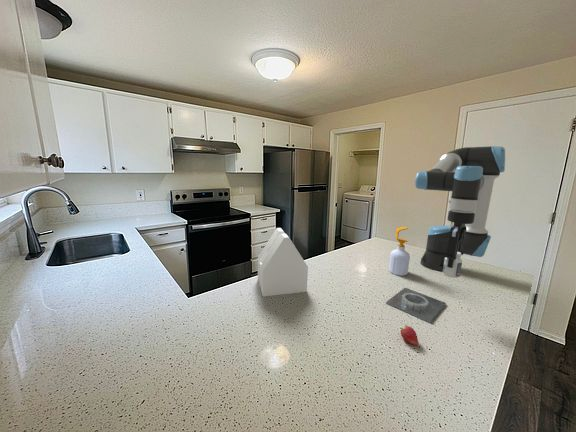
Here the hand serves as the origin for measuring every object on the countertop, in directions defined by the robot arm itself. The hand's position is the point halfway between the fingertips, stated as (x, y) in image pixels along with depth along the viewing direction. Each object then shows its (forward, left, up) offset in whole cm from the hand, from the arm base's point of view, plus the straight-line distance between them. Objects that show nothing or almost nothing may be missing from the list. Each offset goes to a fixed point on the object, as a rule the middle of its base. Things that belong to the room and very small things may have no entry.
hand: (451, 272), depth 87 cm
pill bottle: (0, 0, -1) cm, 1 cm away
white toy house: (+35, -55, -16) cm, 67 cm away
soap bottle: (-22, -27, -16) cm, 38 cm away
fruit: (+27, -3, -16) cm, 32 cm away
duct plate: (+3, -9, -16) cm, 19 cm away
